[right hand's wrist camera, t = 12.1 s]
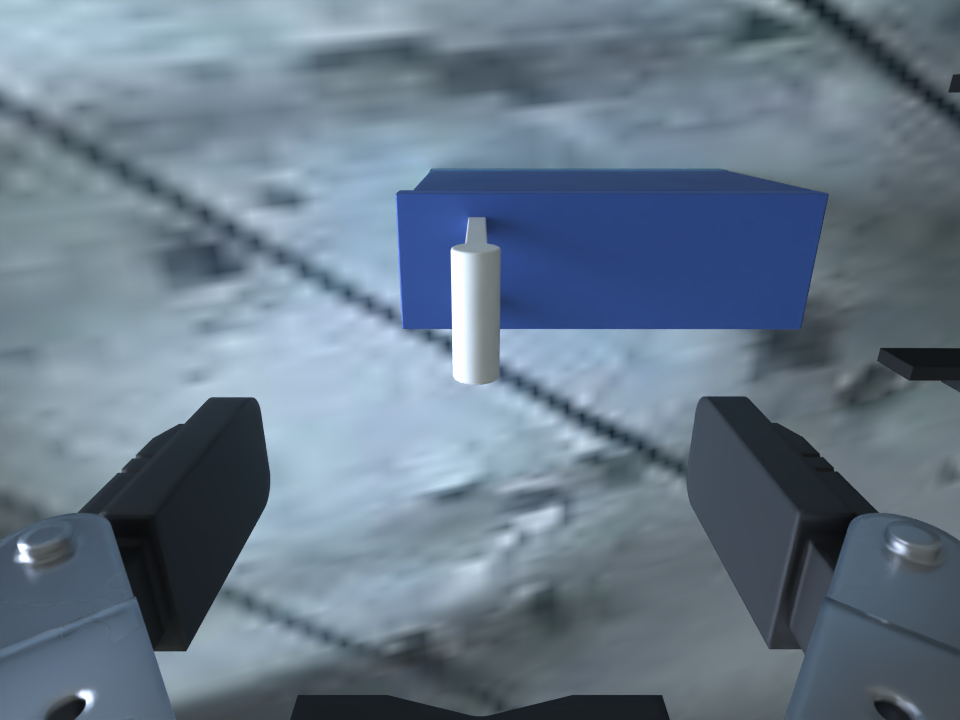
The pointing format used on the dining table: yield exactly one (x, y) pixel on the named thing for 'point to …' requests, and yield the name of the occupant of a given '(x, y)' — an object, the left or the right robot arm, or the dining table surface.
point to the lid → (601, 262)
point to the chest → (595, 180)
